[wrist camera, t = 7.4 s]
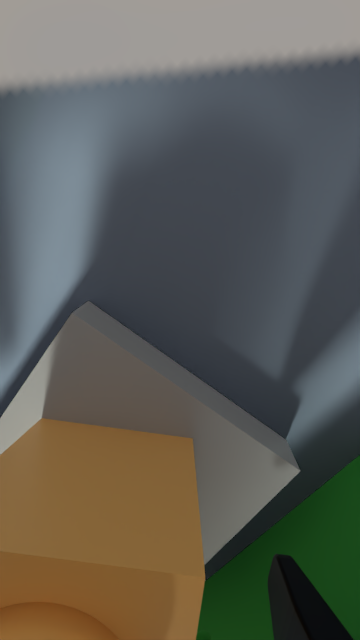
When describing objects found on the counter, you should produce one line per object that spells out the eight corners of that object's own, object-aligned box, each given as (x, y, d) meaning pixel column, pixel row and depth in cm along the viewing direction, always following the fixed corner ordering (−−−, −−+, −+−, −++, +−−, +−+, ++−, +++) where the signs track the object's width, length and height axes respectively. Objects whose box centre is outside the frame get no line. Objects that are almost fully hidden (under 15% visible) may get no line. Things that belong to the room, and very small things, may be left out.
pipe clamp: (239, 643, 14) (260, 826, 10) (174, 599, 14) (166, 774, 9) (459, 487, 12) (618, 641, 7) (391, 424, 11) (519, 553, 7)
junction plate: (139, 590, 13) (111, 795, 9) (-40, 487, 12) (-190, 656, 7) (286, 440, 11) (358, 597, 7) (88, 300, 10) (-1, 366, 5)
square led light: (171, 579, 10) (162, 966, 4) (26, 560, 10) (-185, 925, 4) (192, 438, 10) (212, 649, 4) (41, 418, 10) (-164, 601, 4)
